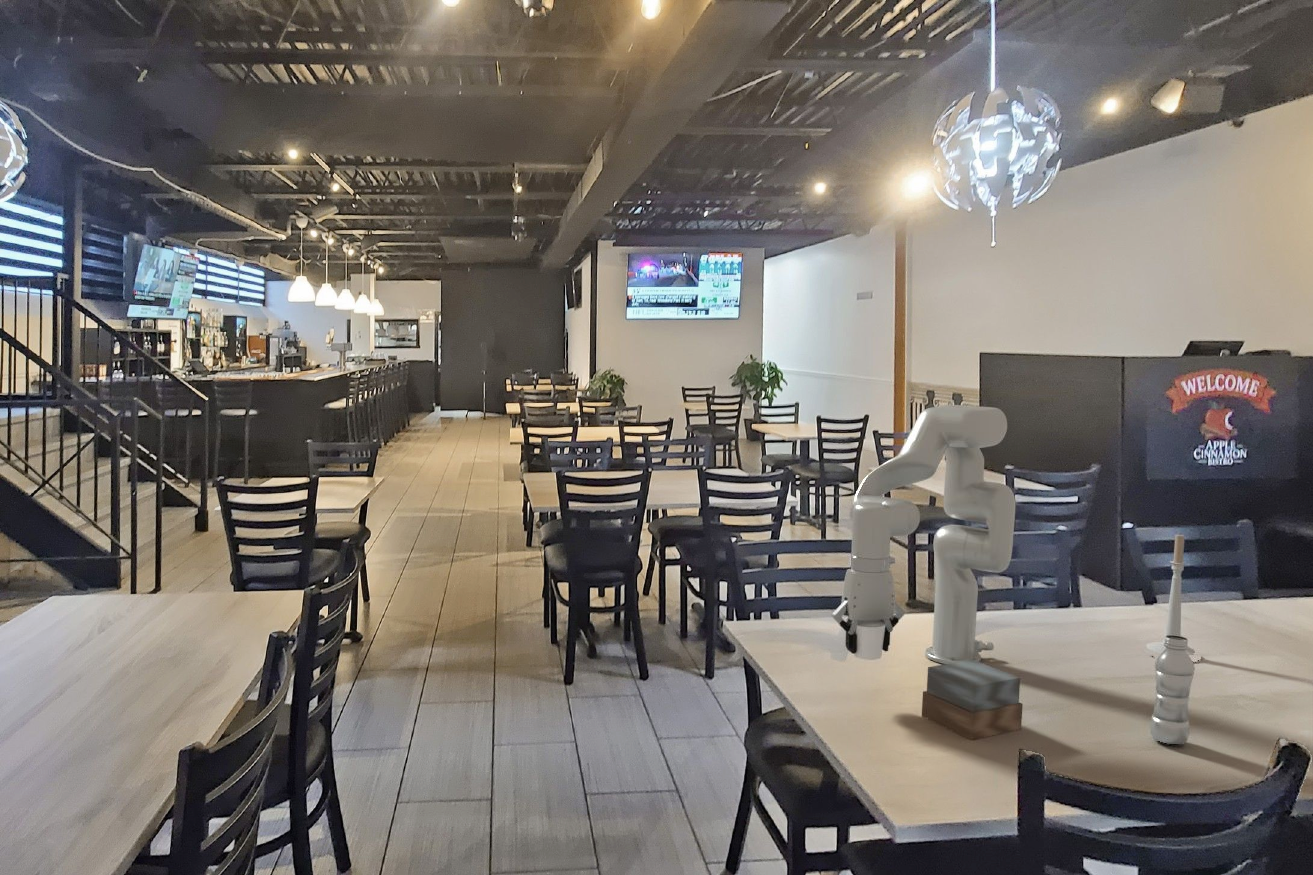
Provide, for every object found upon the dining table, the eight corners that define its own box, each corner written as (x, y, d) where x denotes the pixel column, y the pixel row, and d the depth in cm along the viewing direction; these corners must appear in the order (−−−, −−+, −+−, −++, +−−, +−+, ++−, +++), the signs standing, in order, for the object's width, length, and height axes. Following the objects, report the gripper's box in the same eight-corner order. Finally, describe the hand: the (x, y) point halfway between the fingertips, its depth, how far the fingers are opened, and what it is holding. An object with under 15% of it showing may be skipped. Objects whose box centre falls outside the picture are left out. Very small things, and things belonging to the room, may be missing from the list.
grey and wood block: (970, 706, 198) (972, 658, 197) (1021, 729, 186) (1024, 678, 186) (921, 716, 192) (924, 666, 191) (971, 740, 180) (974, 687, 179)
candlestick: (1144, 658, 234) (1153, 535, 232) (1139, 644, 246) (1148, 526, 244) (1204, 665, 230) (1214, 540, 227) (1197, 651, 241) (1206, 531, 239)
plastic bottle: (1141, 735, 185) (1148, 632, 183) (1175, 735, 185) (1182, 632, 184) (1161, 749, 178) (1169, 642, 177) (1196, 749, 179) (1204, 642, 177)
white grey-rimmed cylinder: (884, 661, 195) (886, 627, 194) (849, 659, 196) (850, 625, 195) (884, 651, 201) (885, 618, 201) (850, 648, 203) (851, 615, 202)
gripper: (900, 557, 202) (897, 641, 204) (822, 561, 198) (820, 647, 200) (918, 566, 195) (915, 653, 197) (837, 570, 191) (835, 659, 193)
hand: (867, 649), depth 199 cm, fingers closed on white grey-rimmed cylinder, 6 cm apart
